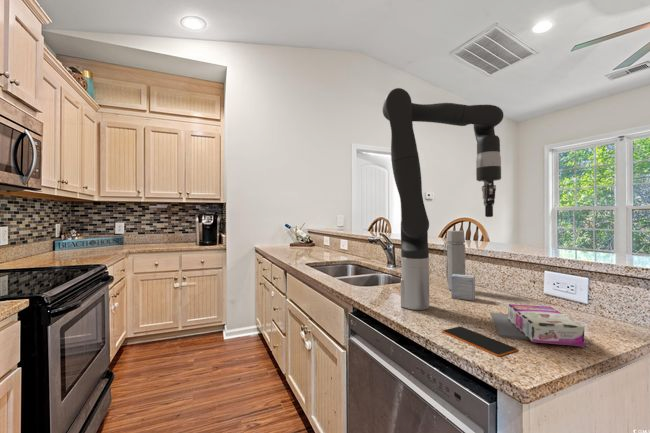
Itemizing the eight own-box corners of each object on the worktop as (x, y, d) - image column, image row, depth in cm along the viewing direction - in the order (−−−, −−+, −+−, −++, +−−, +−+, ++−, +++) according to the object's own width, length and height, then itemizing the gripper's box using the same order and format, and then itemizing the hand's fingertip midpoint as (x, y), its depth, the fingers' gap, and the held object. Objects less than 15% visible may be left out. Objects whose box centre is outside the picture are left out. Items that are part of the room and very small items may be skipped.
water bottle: (464, 288, 131) (463, 230, 131) (467, 292, 124) (466, 231, 124) (441, 287, 134) (441, 230, 134) (442, 291, 126) (442, 231, 127)
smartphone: (499, 359, 67) (498, 355, 67) (440, 333, 82) (440, 330, 82) (520, 352, 71) (520, 348, 71) (460, 328, 86) (460, 325, 86)
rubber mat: (500, 336, 79) (500, 334, 79) (490, 314, 96) (490, 312, 96) (586, 347, 72) (586, 344, 72) (559, 321, 90) (559, 319, 90)
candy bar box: (507, 320, 89) (531, 342, 73) (507, 303, 89) (530, 322, 73) (551, 323, 86) (585, 347, 70) (551, 306, 86) (585, 326, 70)
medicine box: (475, 298, 115) (475, 275, 115) (474, 301, 112) (473, 277, 112) (453, 295, 120) (452, 273, 120) (451, 298, 116) (450, 275, 116)
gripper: (504, 162, 97) (505, 216, 97) (497, 168, 109) (498, 216, 109) (478, 164, 100) (478, 217, 100) (474, 170, 112) (475, 216, 112)
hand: (489, 216), depth 104 cm, fingers closed
